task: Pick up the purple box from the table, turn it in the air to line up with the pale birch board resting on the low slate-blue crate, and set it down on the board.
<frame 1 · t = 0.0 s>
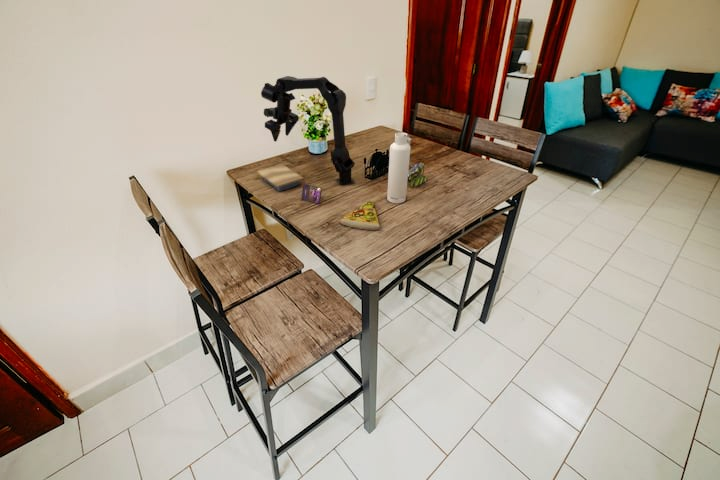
hand: (281, 138, 161), 15 cm above the table, tool pointing down, fingers open, 9 cm apart
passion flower: (415, 182, 158), on the table
board: (279, 176, 156), resting on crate
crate: (280, 182, 158), on the table
bottle: (396, 198, 145), on the table
drinking glass: (403, 157, 183), on the table
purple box: (313, 199, 145), on the table
pizza slice: (365, 215, 134), on the table
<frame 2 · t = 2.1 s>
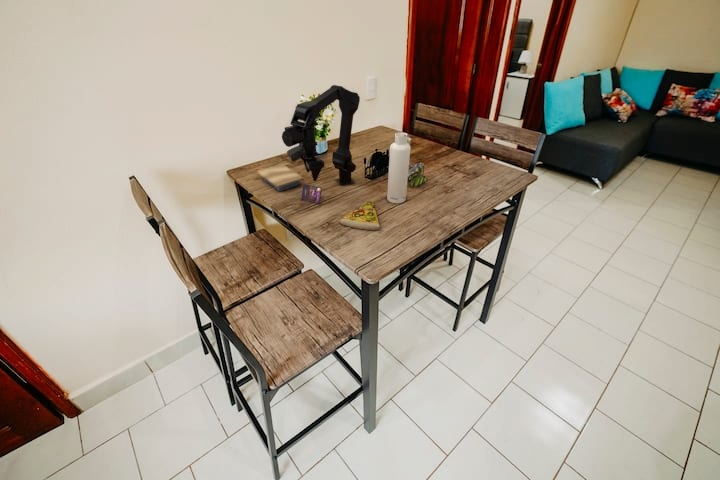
hand: (311, 176, 138), 11 cm above the table, tool pointing down, fingers open, 9 cm apart
nothing on the table moved.
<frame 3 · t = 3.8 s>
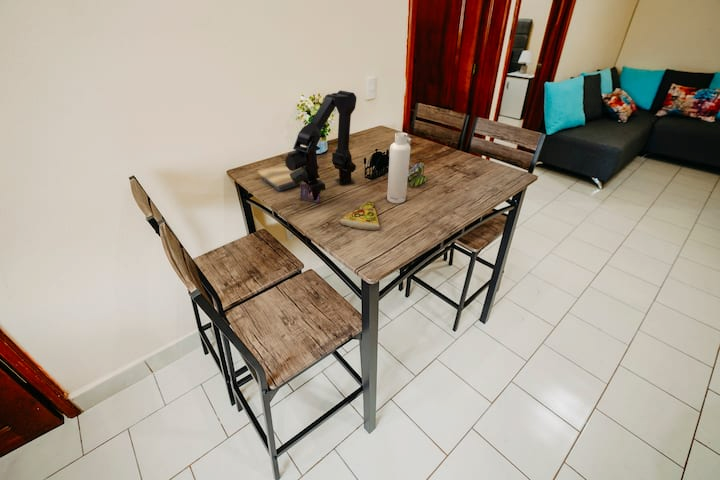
hand: (312, 197, 144), 1 cm above the table, tool pointing down, fingers closed on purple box, 5 cm apart
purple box: (312, 198, 145), on the table, touching gripper
everything else where it was.
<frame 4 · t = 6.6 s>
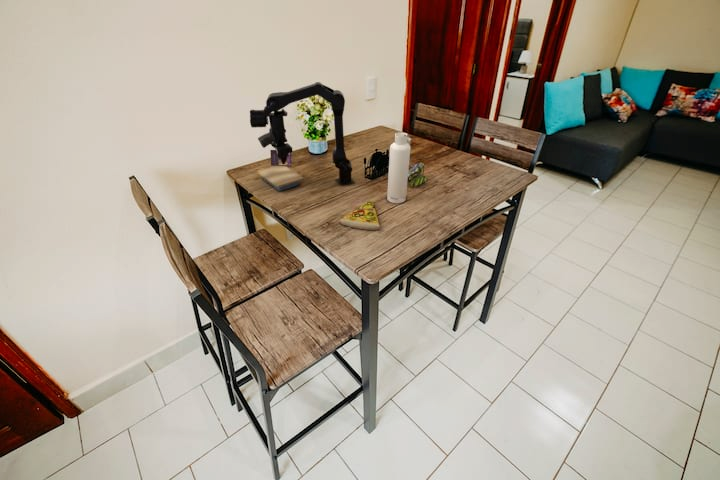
hand: (282, 162, 149), 11 cm above the table, tool pointing down, fingers closed on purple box, 4 cm apart
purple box: (282, 164, 150), point 10 cm above the table, touching gripper
everything else where it was.
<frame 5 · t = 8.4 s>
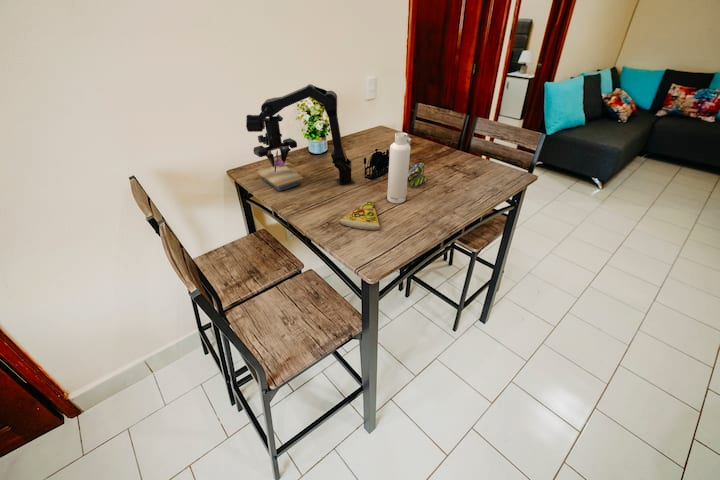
hand: (278, 165, 153), 8 cm above the table, tool pointing down, fingers closed on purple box, 4 cm apart
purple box: (280, 167, 154), point 7 cm above the table, touching gripper
everything else where it was.
when the fingers open (5 cm above the table, at t = 9.6 s): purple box stays where it is, resting on board.
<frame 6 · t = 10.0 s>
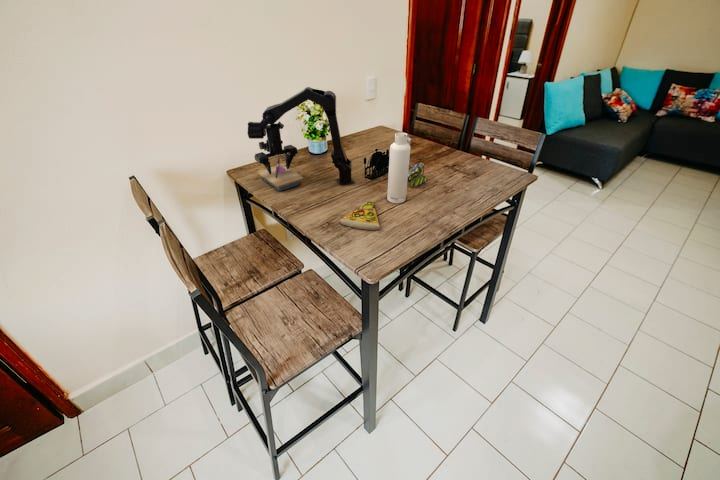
hand: (279, 171, 155), 5 cm above the table, tool pointing down, fingers open, 9 cm apart
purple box: (280, 174, 156), point 4 cm above the table, touching board
everything else where it was.
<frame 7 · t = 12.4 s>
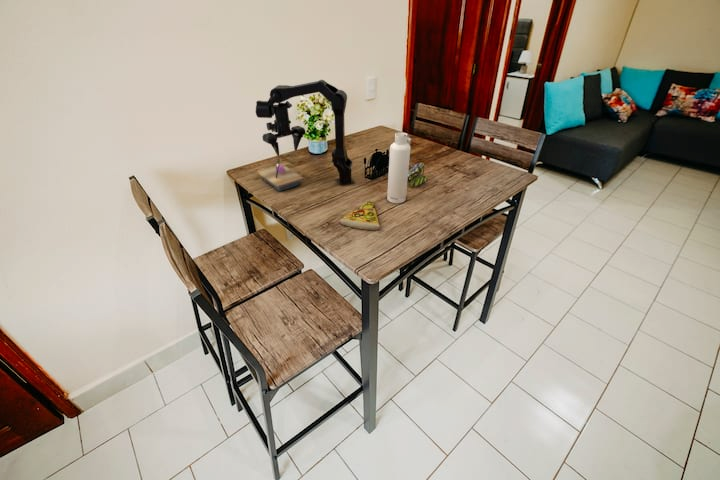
hand: (287, 153, 153), 13 cm above the table, tool pointing down, fingers open, 9 cm apart
nothing on the table moved.
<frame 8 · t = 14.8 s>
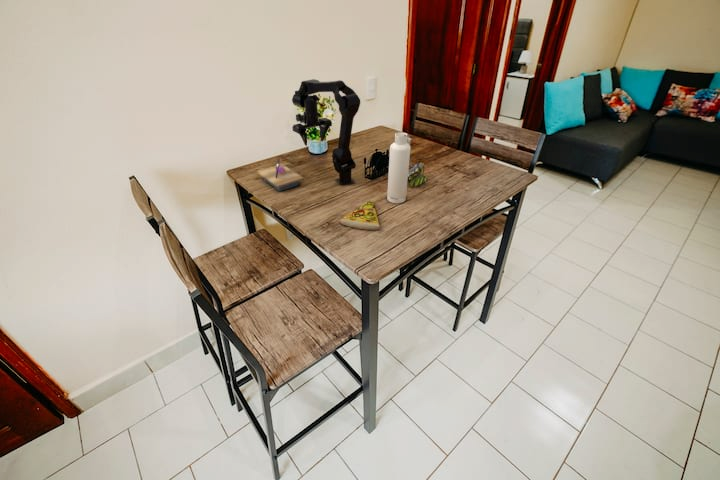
hand: (314, 143, 163), 13 cm above the table, tool pointing down, fingers open, 9 cm apart
nothing on the table moved.
at the end: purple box inside the target area on the board (0.6 cm from its centre), point 0.8 cm above the board's base; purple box touching board; the gripper is holding nothing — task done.
